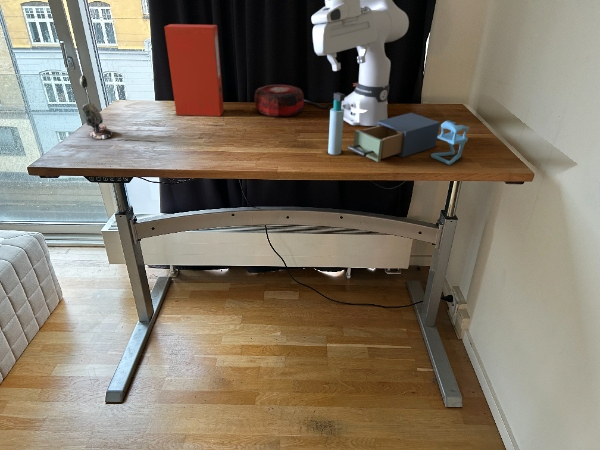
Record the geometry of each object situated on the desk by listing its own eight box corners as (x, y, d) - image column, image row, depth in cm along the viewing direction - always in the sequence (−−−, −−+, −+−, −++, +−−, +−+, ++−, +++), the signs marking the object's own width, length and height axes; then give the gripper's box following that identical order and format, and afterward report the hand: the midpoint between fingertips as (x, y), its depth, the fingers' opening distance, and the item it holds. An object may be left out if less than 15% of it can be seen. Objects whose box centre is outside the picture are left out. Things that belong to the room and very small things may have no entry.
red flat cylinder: (313, 111, 177) (281, 100, 189) (314, 90, 173) (280, 80, 185) (277, 121, 165) (244, 109, 177) (277, 99, 161) (243, 88, 173)
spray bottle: (325, 151, 141) (328, 92, 131) (335, 148, 143) (339, 90, 133) (333, 155, 138) (337, 96, 128) (343, 153, 140) (348, 94, 130)
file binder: (181, 109, 177) (170, 23, 160) (223, 110, 177) (217, 24, 160) (176, 115, 170) (164, 26, 153) (220, 116, 170) (212, 27, 153)
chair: (466, 159, 137) (475, 122, 131) (449, 165, 133) (457, 127, 127) (447, 151, 143) (455, 115, 136) (430, 156, 139) (437, 120, 132)
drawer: (367, 165, 130) (369, 144, 127) (342, 153, 138) (344, 133, 134) (411, 151, 140) (414, 131, 137) (386, 140, 148) (388, 121, 144)
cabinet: (402, 157, 138) (406, 132, 133) (374, 145, 146) (377, 121, 142) (435, 146, 146) (440, 122, 142) (407, 135, 155) (411, 112, 150)
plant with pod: (81, 142, 145) (64, 81, 134) (95, 130, 154) (81, 72, 144) (105, 142, 145) (90, 81, 134) (118, 131, 154) (105, 73, 144)
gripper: (362, 6, 119) (367, 59, 125) (306, 18, 109) (314, 74, 115) (380, 3, 114) (384, 58, 121) (322, 15, 104) (329, 75, 111)
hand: (349, 66), depth 118 cm, fingers open, 8 cm apart
